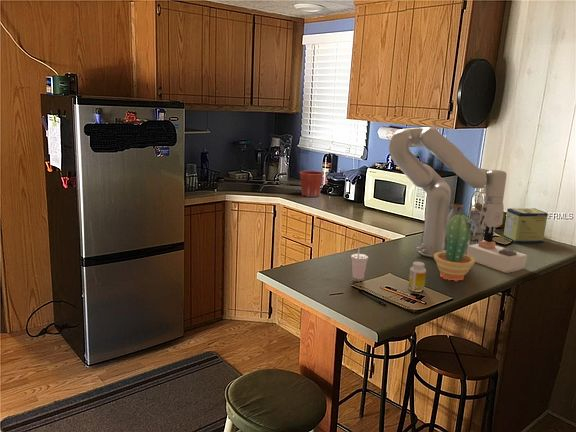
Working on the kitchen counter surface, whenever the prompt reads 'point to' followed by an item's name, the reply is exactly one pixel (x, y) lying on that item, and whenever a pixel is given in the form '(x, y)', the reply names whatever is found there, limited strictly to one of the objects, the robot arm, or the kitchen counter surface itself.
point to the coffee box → (480, 232)
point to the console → (497, 258)
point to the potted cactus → (456, 249)
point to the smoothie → (359, 264)
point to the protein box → (525, 225)
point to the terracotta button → (487, 244)
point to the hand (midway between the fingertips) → (487, 241)
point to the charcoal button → (507, 252)
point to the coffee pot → (455, 211)
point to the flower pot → (311, 183)
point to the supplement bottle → (417, 276)
